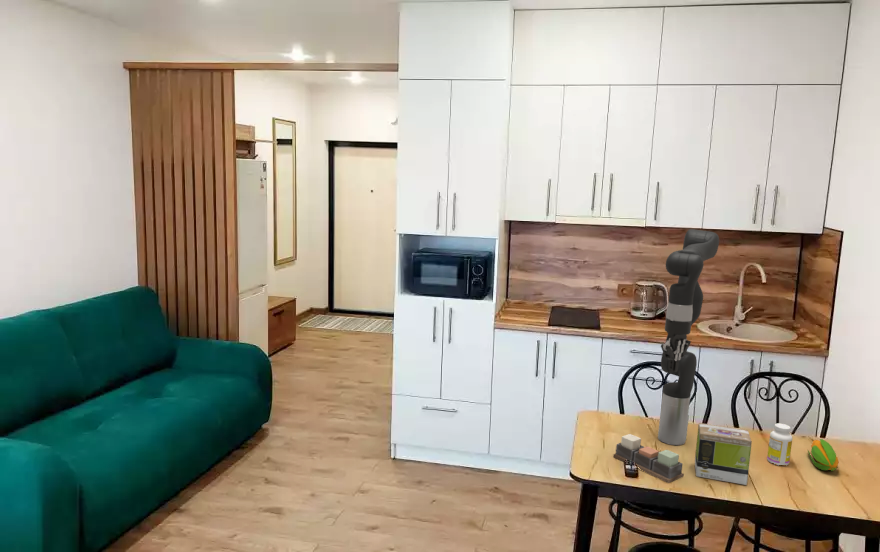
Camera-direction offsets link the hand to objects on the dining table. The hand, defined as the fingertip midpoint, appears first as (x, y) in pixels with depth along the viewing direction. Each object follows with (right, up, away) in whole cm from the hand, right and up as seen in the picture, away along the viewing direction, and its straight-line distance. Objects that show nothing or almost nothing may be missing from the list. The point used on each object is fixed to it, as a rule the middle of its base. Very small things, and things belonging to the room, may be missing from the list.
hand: (673, 371), depth 203 cm
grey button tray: (-6, -32, +7) cm, 33 cm away
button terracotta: (-6, -30, +7) cm, 31 cm away
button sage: (-2, -30, +1) cm, 30 cm away
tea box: (+16, -34, +4) cm, 38 cm away
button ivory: (-10, -28, +12) cm, 31 cm away
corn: (+55, -34, +16) cm, 66 cm away
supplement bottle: (+40, -33, +15) cm, 54 cm away
